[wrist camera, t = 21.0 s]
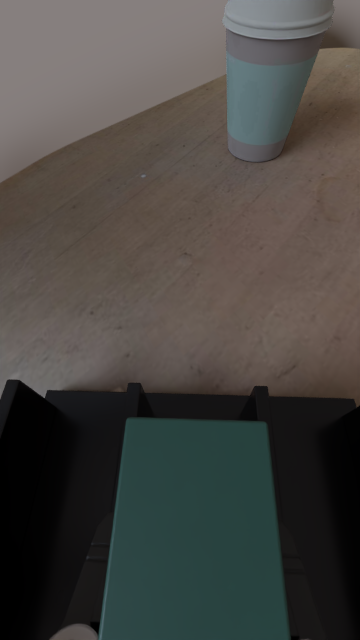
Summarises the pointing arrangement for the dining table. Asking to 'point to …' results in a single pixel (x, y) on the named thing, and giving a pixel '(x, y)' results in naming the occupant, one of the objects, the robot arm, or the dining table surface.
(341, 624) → the rack
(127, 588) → the green book
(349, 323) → the dining table surface
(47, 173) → the dining table surface
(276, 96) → the coffee cup
